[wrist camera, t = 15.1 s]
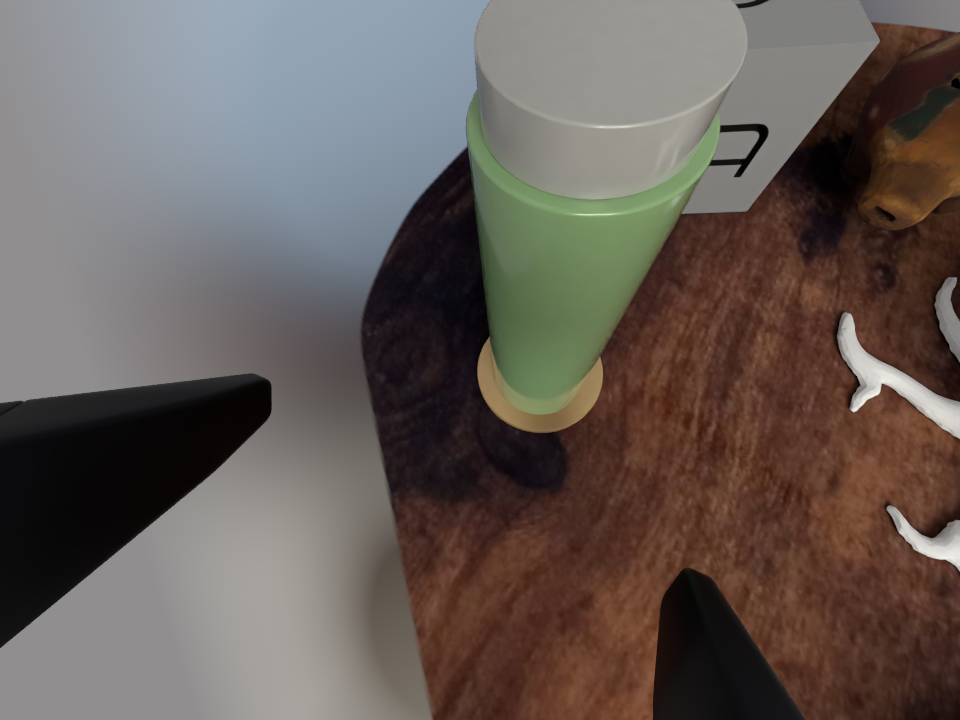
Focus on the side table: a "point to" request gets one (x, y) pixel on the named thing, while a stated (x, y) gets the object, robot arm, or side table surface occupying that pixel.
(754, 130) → the icon cube
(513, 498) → the side table surface
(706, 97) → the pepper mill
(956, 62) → the ocarina
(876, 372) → the tree stump
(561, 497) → the side table surface
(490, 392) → the coaster
